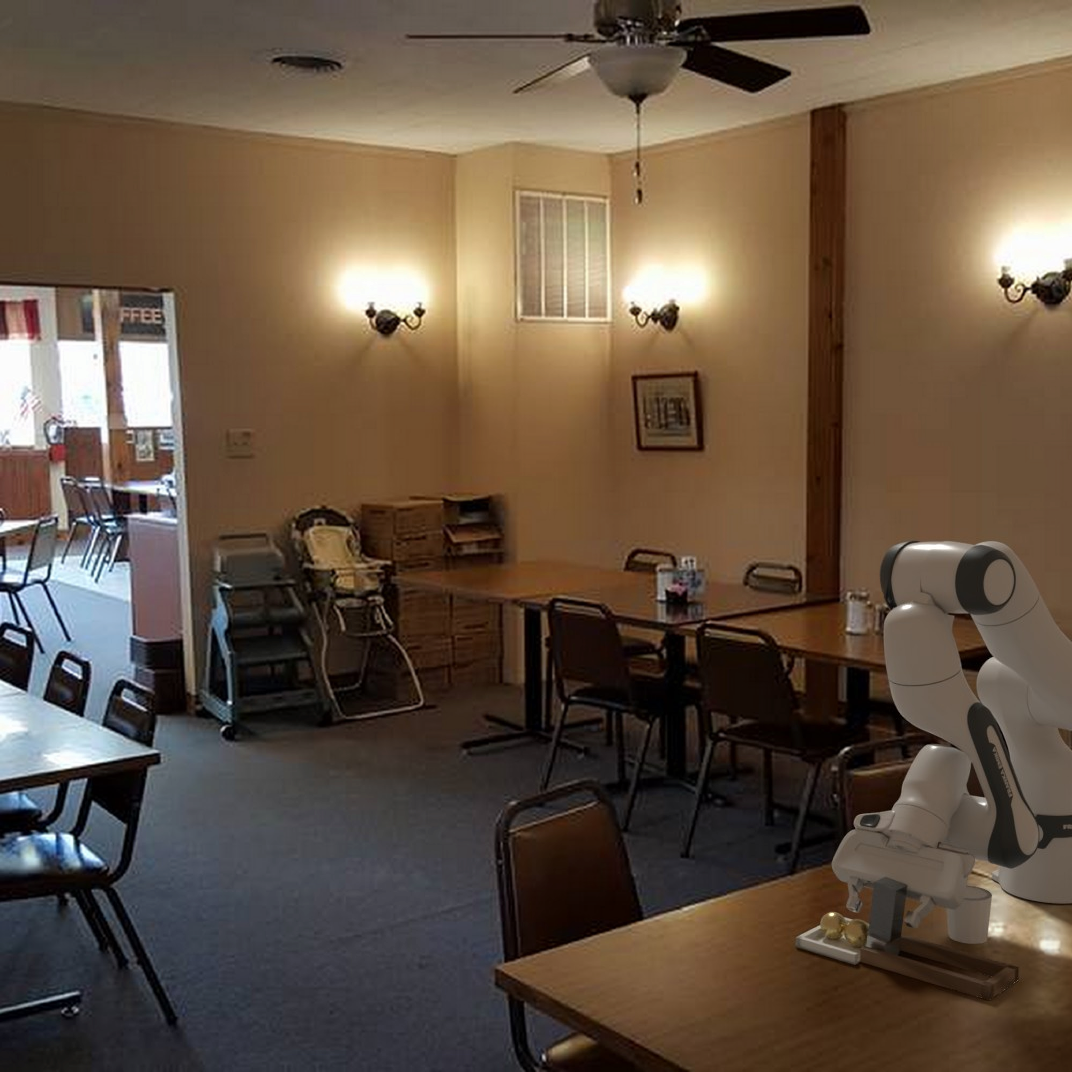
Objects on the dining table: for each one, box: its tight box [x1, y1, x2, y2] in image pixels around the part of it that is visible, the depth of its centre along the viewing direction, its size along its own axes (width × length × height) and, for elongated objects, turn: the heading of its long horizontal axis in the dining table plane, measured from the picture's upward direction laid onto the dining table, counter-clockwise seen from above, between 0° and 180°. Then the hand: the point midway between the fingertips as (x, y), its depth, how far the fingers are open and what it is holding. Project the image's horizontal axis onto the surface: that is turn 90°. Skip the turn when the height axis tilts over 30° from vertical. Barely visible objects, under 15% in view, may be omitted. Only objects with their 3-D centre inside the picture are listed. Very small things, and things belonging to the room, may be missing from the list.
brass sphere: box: [844, 918, 869, 947], centre depth 196 cm, size 4×4×4 cm
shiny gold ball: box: [819, 911, 847, 939], centre depth 199 cm, size 4×4×4 cm
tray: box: [795, 916, 869, 966], centre depth 197 cm, size 12×10×2 cm
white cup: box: [945, 885, 993, 945], centre depth 199 cm, size 7×7×7 cm
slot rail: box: [859, 933, 1020, 1001], centre depth 187 cm, size 9×20×2 cm, turn 46°
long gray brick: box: [866, 877, 907, 956], centre depth 192 cm, size 4×4×11 cm
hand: (880, 917), depth 192 cm, fingers open, 8 cm apart
